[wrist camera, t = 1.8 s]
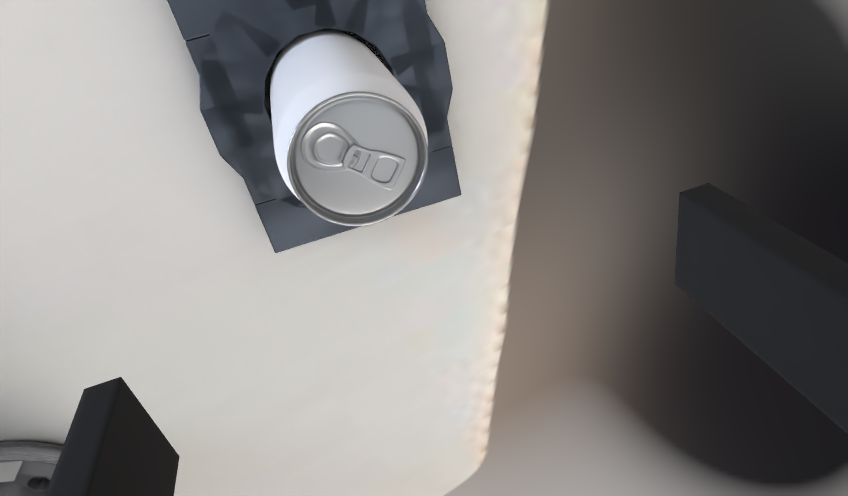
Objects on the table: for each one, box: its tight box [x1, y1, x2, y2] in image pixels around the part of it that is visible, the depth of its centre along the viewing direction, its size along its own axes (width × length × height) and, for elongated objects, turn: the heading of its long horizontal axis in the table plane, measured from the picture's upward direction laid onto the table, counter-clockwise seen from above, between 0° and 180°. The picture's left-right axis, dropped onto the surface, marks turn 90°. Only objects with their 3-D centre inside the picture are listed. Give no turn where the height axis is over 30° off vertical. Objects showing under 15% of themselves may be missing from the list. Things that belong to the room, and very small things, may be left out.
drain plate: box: [167, 0, 461, 253], centre depth 31 cm, size 16×13×2 cm
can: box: [270, 30, 428, 226], centre depth 27 cm, size 6×6×12 cm
